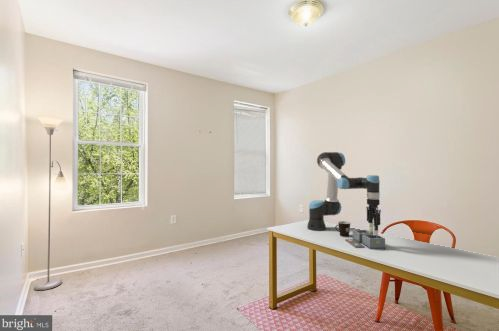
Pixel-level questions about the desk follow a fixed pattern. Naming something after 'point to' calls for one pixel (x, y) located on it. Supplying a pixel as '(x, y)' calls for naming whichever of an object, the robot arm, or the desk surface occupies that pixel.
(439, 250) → the desk surface
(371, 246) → the grey open box
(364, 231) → the grey square bin
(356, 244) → the card
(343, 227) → the coffee mug
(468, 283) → the desk surface
